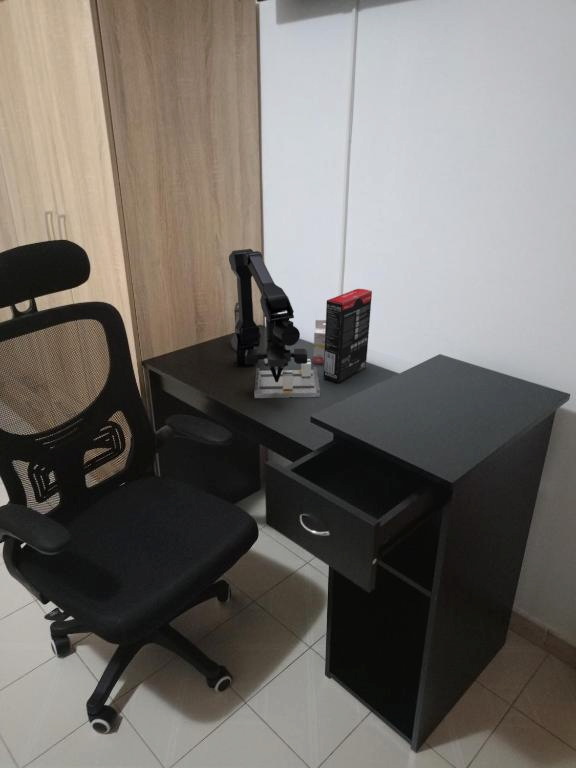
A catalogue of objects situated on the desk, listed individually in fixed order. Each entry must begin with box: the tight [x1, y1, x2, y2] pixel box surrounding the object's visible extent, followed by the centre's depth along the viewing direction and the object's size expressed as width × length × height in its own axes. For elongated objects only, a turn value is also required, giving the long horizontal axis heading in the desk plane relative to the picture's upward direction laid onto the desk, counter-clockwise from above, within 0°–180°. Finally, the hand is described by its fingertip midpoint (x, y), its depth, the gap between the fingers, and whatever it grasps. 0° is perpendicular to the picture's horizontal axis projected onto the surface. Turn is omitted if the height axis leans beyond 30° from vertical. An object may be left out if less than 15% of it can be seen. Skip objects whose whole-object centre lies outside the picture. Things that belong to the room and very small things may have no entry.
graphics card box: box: [322, 288, 373, 384], centre depth 177 cm, size 17×7×27 cm, turn 141°
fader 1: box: [283, 371, 293, 389], centre depth 169 cm, size 3×4×5 cm
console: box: [253, 366, 321, 399], centre depth 175 cm, size 20×17×2 cm
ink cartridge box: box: [313, 319, 326, 365], centre depth 189 cm, size 9×5×15 cm, turn 84°
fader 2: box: [300, 358, 312, 377], centre depth 177 cm, size 3×4×5 cm
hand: (276, 381), depth 169 cm, fingers closed
